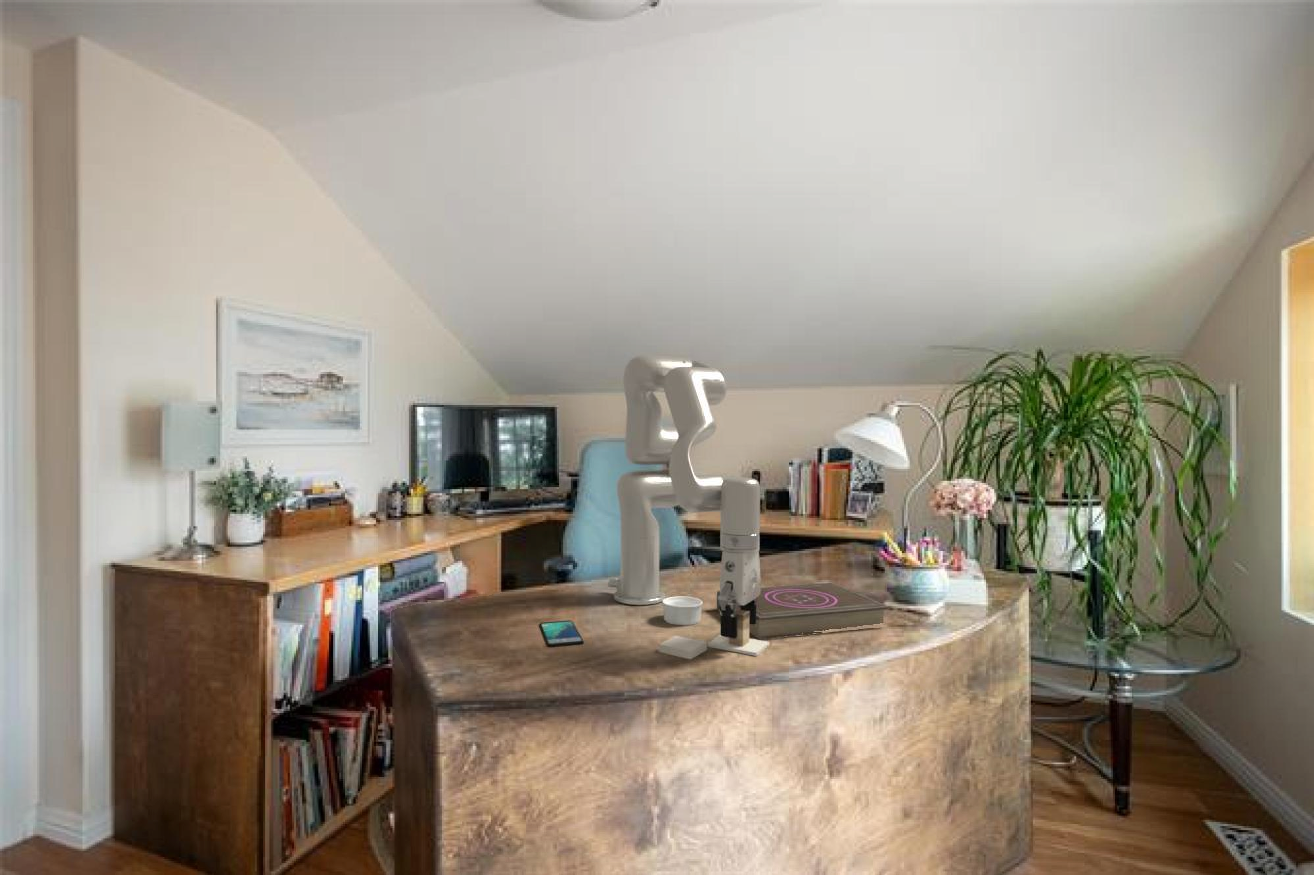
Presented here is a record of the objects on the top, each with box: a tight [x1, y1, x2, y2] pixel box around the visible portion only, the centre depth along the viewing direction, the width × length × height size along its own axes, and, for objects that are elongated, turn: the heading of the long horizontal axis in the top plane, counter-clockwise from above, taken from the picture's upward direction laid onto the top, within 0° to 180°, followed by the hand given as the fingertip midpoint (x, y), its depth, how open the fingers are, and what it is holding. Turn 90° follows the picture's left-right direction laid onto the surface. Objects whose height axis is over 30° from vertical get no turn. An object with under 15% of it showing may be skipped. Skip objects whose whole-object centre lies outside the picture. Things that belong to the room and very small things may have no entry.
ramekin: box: [661, 595, 704, 626], centre depth 139 cm, size 9×9×4 cm
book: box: [716, 582, 890, 640], centre depth 142 cm, size 30×22×5 cm
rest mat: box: [707, 634, 770, 657], centre depth 123 cm, size 10×7×1 cm
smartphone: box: [539, 619, 585, 648], centre depth 129 cm, size 7×1×15 cm
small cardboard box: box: [729, 609, 750, 646], centre depth 123 cm, size 3×3×6 cm
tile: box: [658, 635, 708, 660], centre depth 120 cm, size 2×6×7 cm
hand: (738, 629), depth 123 cm, fingers open, 9 cm apart
